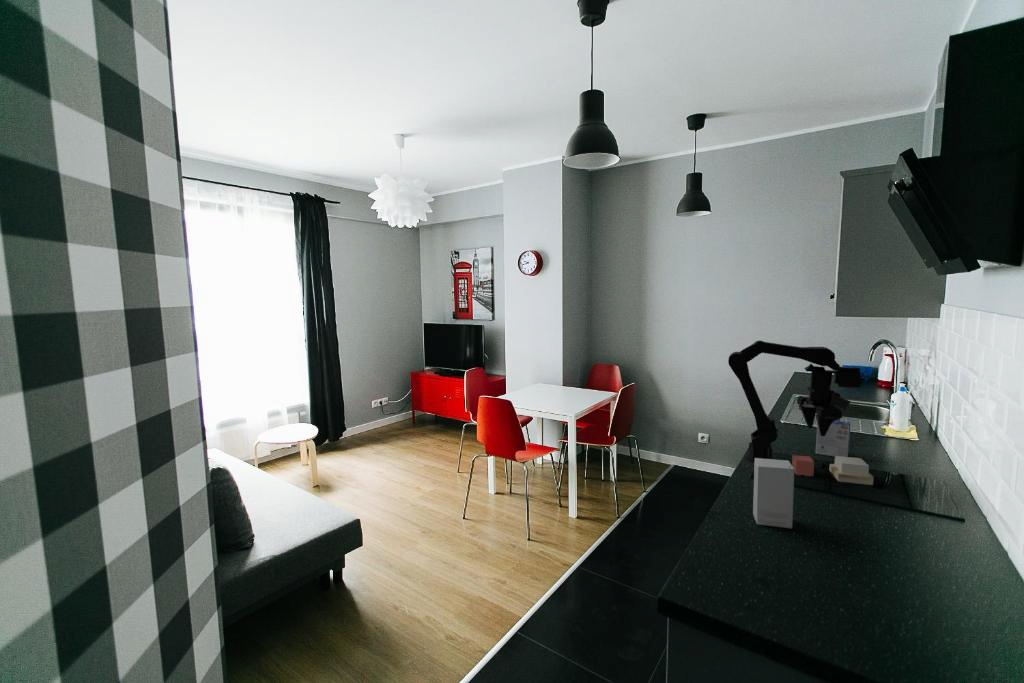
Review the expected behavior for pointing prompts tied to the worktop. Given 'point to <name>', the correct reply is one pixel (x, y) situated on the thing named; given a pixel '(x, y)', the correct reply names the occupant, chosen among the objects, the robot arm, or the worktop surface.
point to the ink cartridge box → (834, 440)
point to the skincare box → (773, 492)
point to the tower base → (850, 476)
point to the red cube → (803, 465)
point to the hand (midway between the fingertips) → (816, 431)
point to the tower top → (851, 465)
